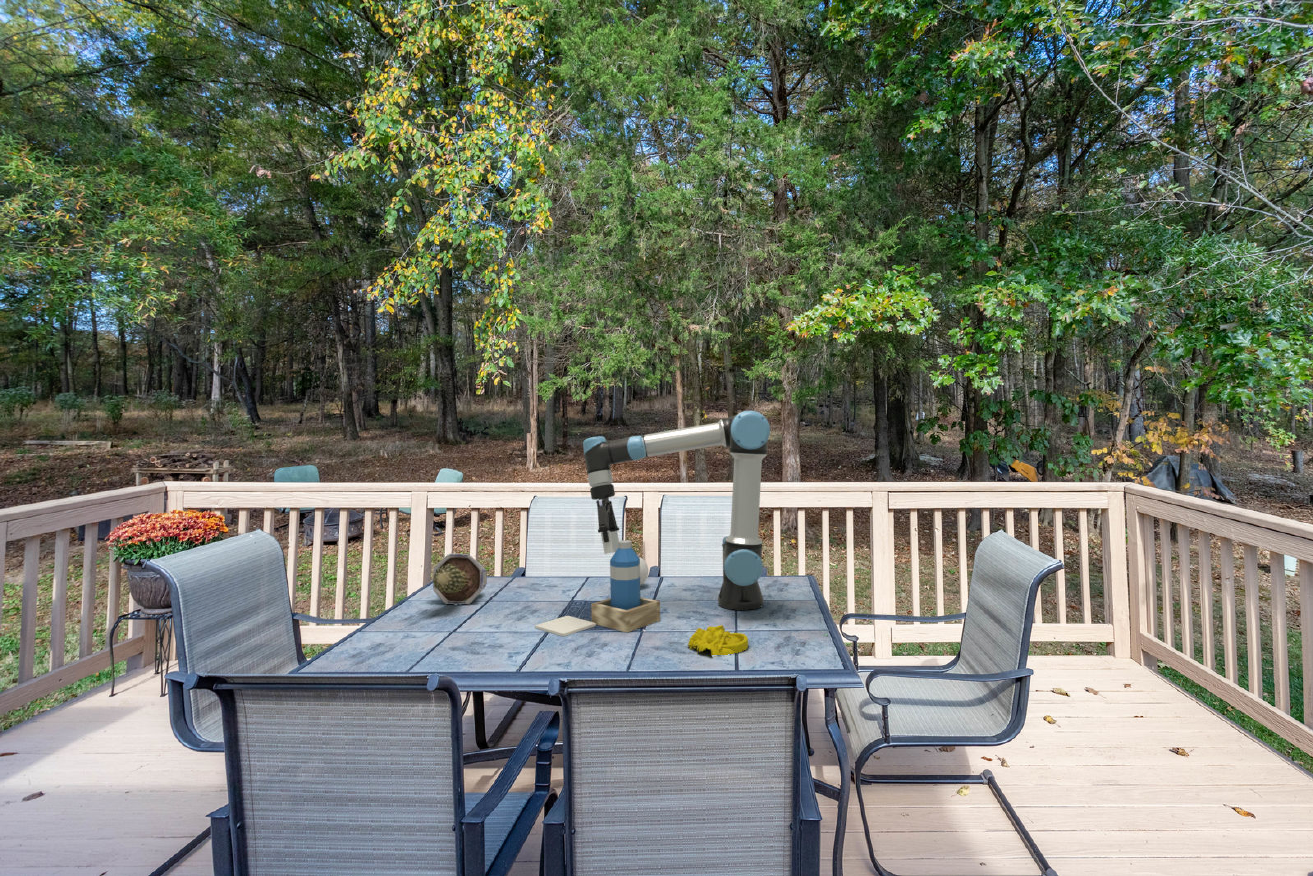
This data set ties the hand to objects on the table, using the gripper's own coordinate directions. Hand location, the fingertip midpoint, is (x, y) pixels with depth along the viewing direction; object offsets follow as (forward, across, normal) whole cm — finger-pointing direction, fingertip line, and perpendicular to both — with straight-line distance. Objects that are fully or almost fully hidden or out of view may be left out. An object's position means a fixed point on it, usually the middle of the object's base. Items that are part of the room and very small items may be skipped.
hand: (612, 552), depth 204 cm
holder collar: (+22, -2, 0) cm, 22 cm away
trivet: (+19, +4, -17) cm, 26 cm away
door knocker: (+30, +18, +28) cm, 45 cm away
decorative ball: (+14, -44, -2) cm, 47 cm away
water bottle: (+22, -2, 0) cm, 22 cm away
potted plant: (+8, -18, -59) cm, 62 cm away
